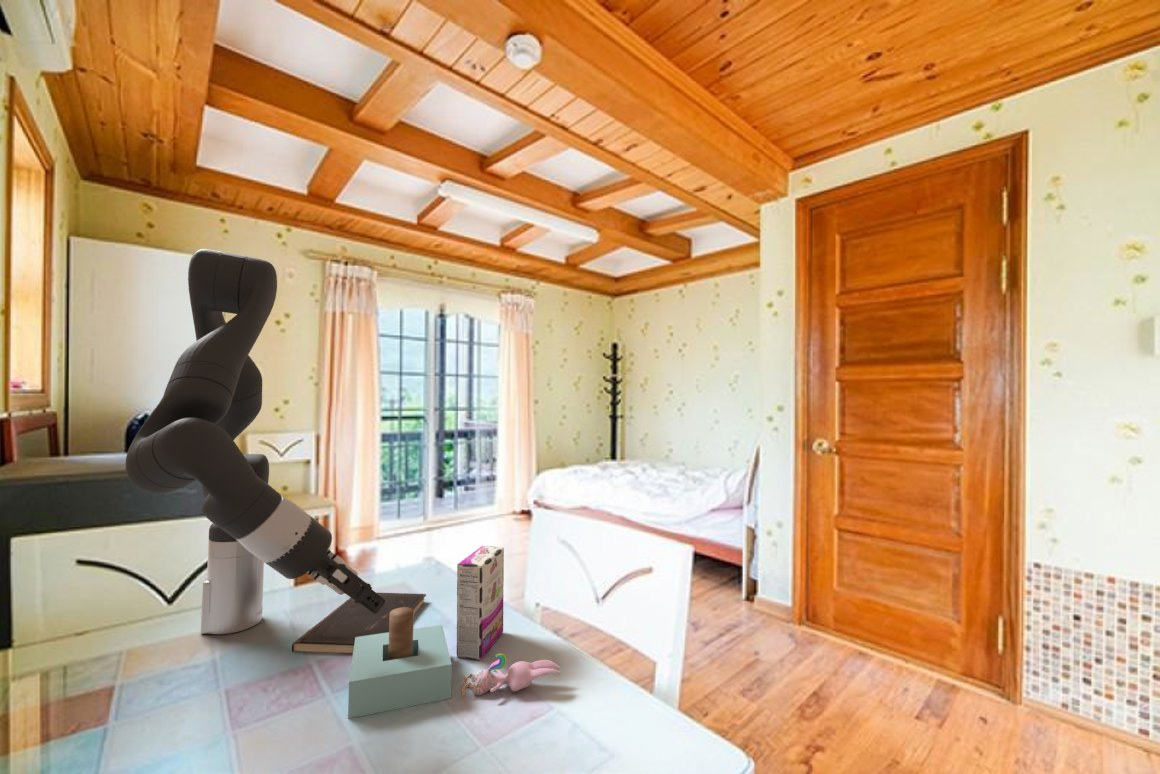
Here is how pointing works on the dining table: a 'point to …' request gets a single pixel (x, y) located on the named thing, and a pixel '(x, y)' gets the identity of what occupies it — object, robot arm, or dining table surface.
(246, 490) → the robot arm
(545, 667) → the rabbit figure
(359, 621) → the hardcover book
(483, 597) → the candy bar box
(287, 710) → the dining table surface
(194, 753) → the dining table surface
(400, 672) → the square hole block
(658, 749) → the dining table surface
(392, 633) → the brown round-topped dowel
